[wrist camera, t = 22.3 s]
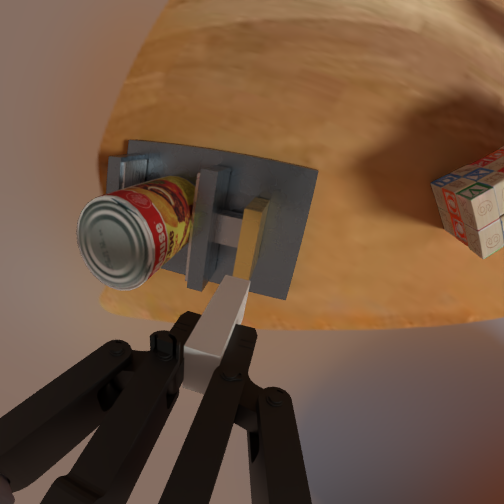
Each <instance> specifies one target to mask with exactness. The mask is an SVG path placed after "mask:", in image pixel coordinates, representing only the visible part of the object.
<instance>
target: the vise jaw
mask: <svg viewBox="0 0 504 504" xmlns="http://www.w3.org/2000/svg"><path fill="white" fill-rule="evenodd" d="M230 172H231V168H230V167H225V166H219V165H214V166H210V167H206V168H202V169H201V172H199V173H197V180H196V187H195V195H194V202H193V210H192V218H191V227H190V236H189V245H188V255H187V266H186V277H185V281H188V282H187V288H190V289H194V290H197V291H201V292H202V290H203V289H204V288H205V286H206V285H207V283H208V282H209V280H210V279H211V277H212V276H213V274H214V273H215V268H216V261H217V254H218V247H219V244H223V245H227V246H231V247H236V248H237V254H236V259H235V265H234V271H233V277H237V278H241V279H245V280H249V281H250V278H251V276H252V273H253V271H254V268H255V266H256V263H257V260H258V255H259V250H260V246H261V241H262V236H263V231H264V226H265V221H266V216H267V212H268V207H269V202H270V200H267V199H262V198H258V197H255V198H254V199H253V200H252V201H251V202H250V203H249V204H248V205H247V207H246V208H245V209H244V214H243V213H238V212H234V211H229V210H224V208H225V202H226V196H227V190H228V184H229V178H230Z"/></svg>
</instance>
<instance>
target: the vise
mask: <svg viewBox="0 0 504 504" xmlns="http://www.w3.org/2000/svg"><path fill="white" fill-rule="evenodd" d="M214 165H219V166H225V167H230V168H231V172H230V178H229V184H228V190H227V196H226V202H225V208H224V210H229V211H234V212H238V213H243V214H244V209H245V208H246V207H247V205H248V204H249V203H250V202H251V201H252V200H253V199H254V198H255V197H258V198H262V199H267V200H270V202H269V207H268V212H267V216H266V221H265V226H264V231H263V236H262V241H261V246H260V250H259V255H258V260H257V263H256V266H255V268H254V271H253V273H252V276H251V278H250V286H249V292H253V293H257V294H261V295H265V296H270V297H274V298H278V299H282V300H286V297H287V294H288V290H289V287H290V283H291V279H292V276H293V272H294V268H295V264H296V261H297V257H298V253H299V249H300V245H301V242H302V238H303V234H304V230H305V226H306V222H307V218H308V214H309V209H310V205H311V201H312V197H313V193H314V188H315V184H316V180H317V175H318V170H316V169H312V168H308V167H304V166H299V165H295V164H291V163H286V162H281V161H277V160H272V159H267V158H262V157H257V156H251V155H246V154H240V153H235V152H229V151H223V150H217V149H210V148H203V147H196V146H189V145H181V144H173V143H164V142H155V141H144V140H129V144H128V153H127V154H123V155H115V156H109V160H108V173H107V190H106V194H108V193H111V192H114V191H117V190H120V189H124V188H127V187H130V186H134V185H137V184H140V183H144V182H147V181H151V180H154V179H158V178H162V177H166V176H179V177H182V178H184V179H187V180H188V181H190V182H191V183H192V184H194V185H195V186H196V180H197V173H199V172H201V169H202V168H206V167H210V166H214ZM188 245H189V243H187V244H186V245H185V246H184V247H183V248H182V249H181V250H180V251H178V252H177V253H176V254H175V255H174V256H173V257H172V258H171V259H170V260H168V261H167V262H166V263H165V264H164V265H163V266H162V267H161V268H162V269H166V270H169V271H173V272H177V273H180V274H184V275H186V266H187V255H188ZM236 254H237V248H236V247H231V246H227V245H223V244H219V247H218V254H217V261H216V268H215V273H214V274H213V276H212V277H211V279H210V280H209V281H210V282H214V283H218V284H220V283H221V282H222V280H223V278H224V276H225V275H229V276H233V271H234V265H235V259H236Z"/></svg>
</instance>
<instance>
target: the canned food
mask: <svg viewBox="0 0 504 504" xmlns="http://www.w3.org/2000/svg"><path fill="white" fill-rule="evenodd" d="M195 187H196V186H195V185H194V184H192V183H191V182H190V181H188V180H187V179H184V178H182V177H179V176H166V177H162V178H158V179H154V180H151V181H147V182H144V183H140V184H137V185H134V186H130V187H127V188H124V189H120V190H117V191H114V192H111V193H108V194H105V195H102V196H99V197H96V198H94V199H93V200H91V201H90V202H88V203H87V204H86V206H85V207H84V209H83V210H82V211H81V214H80V217H79V219H78V223H77V224H78V225H77V243H78V247H79V250H80V254H81V256H82V258H83V260H84V262H85V264H86V266H87V267H88V269H89V270H90V271H91V273H92V274H93V275H94V276H95V277H96V278H97V279H98V280H100V282H102V283H104V284H105V285H107V286H109V287H111V288H114V289H117V290H132V289H135V288H138V287H139V286H141V285H142V284H143V283H144V282H145V281H147V280H148V279H149V278H150V277H151V276H152V275H153V274H154V273H155V272H156V271H157V270H159V269H160V268H161V267H162V266H163V265H164V264H165V263H166V262H167V261H168V260H170V259H171V258H172V257H173V256H174V255H175V254H176V253H177V252H178V251H180V250H181V249H182V248H183V247H184V246H185V245H186V244H187V243H189V236H190V227H191V218H192V210H193V202H194V195H195Z"/></svg>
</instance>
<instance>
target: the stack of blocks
mask: <svg viewBox="0 0 504 504" xmlns="http://www.w3.org/2000/svg"><path fill="white" fill-rule="evenodd" d="M430 184H431V187H432V190H433V193H434V196H435V199H436V202H437V205H438V209H439V213H440V216H441V219H442V223H443V226H444V229H445V230H446V231H447V232H449V233H450V234H452V235H453V236H455V237H456V238H457V239H458V240H459V241H461V242H462V243H464V244H465V245H467V246H468V247H469V249H470V250H472V251H473V252H474V253H476V254H477V255H478V256H479V257H481V258H482V259H485V258H487V257H488V256H490V255H492V254H493V253H495V252H496V251H498V250H499V249H501V248H502V247H503V246H504V146H503V147H501V148H499V150H497V151H495V152H493V153H491V154H489V155H487V156H485V157H484V158H482V159H480V160H478V161H476V162H474V163H472V164H470V165H465V166H463V167H461V168H459V169H457V170H455V171H453V172H451V173H450V174H447V175H445V176H443V177H441V178H439V179H437V180H435V181H433V182H431V183H430Z"/></svg>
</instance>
